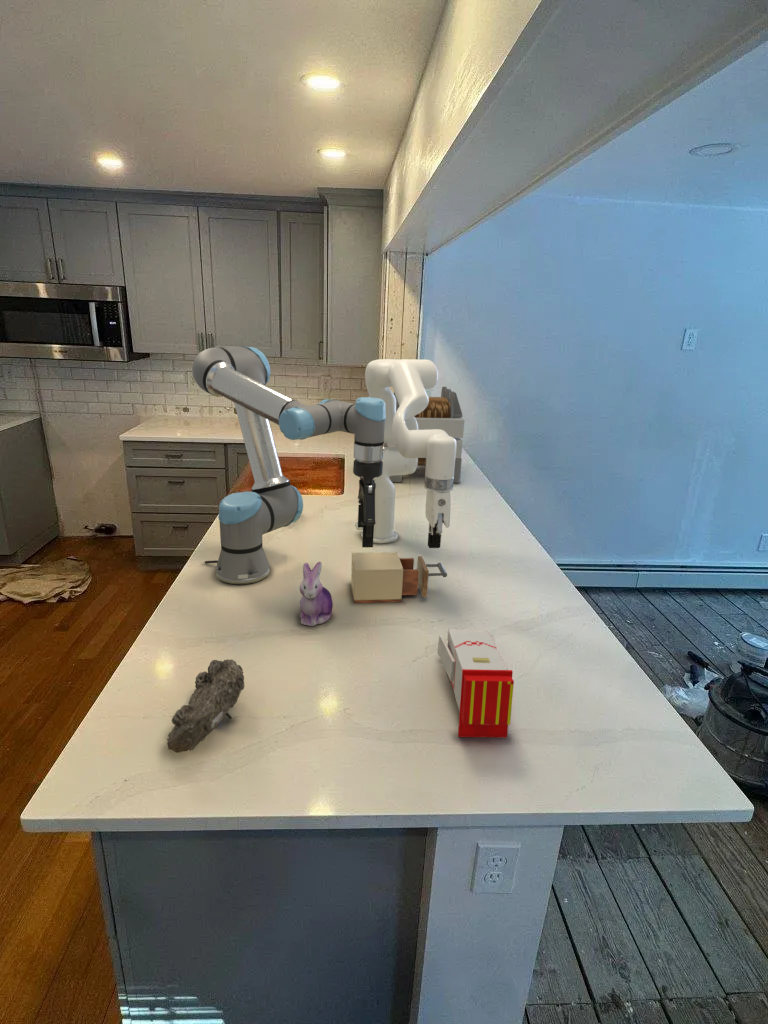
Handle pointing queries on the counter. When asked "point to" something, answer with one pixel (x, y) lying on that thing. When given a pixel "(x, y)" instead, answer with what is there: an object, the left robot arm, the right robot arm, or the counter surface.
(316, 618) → the figurine
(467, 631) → the toy
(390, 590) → the lidded box
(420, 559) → the drawer
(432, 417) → the transformer
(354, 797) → the counter surface
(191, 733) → the fossil
